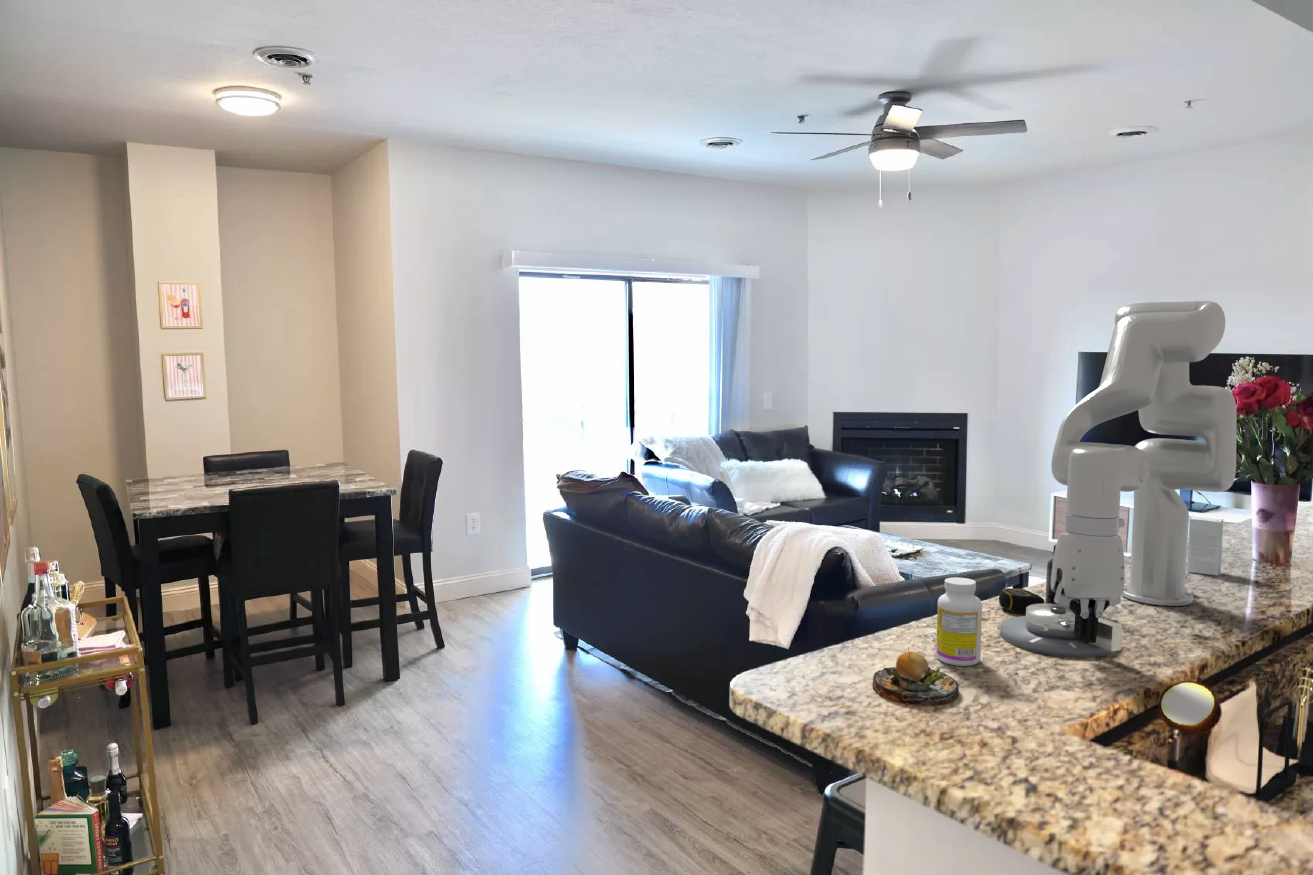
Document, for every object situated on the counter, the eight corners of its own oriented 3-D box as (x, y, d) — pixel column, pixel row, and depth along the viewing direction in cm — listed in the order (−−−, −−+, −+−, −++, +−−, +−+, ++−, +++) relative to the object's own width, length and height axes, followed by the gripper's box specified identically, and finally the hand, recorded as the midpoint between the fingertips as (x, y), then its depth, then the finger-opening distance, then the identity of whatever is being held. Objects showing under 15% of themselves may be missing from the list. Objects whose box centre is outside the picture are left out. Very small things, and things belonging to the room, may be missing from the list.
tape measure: (1045, 614, 167) (1046, 595, 167) (1013, 617, 165) (1014, 597, 165) (1022, 604, 174) (1023, 585, 173) (991, 607, 172) (991, 587, 172)
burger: (975, 697, 128) (977, 645, 127) (918, 714, 122) (919, 661, 121) (910, 671, 138) (912, 624, 137) (854, 686, 132) (855, 637, 131)
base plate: (1033, 617, 165) (1033, 609, 165) (1135, 641, 151) (1135, 633, 151) (979, 637, 153) (979, 628, 153) (1085, 665, 140) (1085, 656, 139)
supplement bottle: (948, 650, 147) (951, 573, 146) (987, 660, 142) (990, 580, 141) (928, 660, 142) (930, 580, 141) (967, 670, 137) (970, 588, 136)
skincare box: (1221, 572, 198) (1224, 519, 197) (1218, 576, 194) (1222, 521, 193) (1189, 568, 201) (1192, 515, 200) (1186, 572, 198) (1189, 518, 197)
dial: (1012, 623, 155) (1013, 600, 155) (1057, 617, 158) (1058, 595, 158) (1091, 655, 139) (1092, 629, 139) (1139, 647, 143) (1141, 622, 142)
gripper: (1119, 521, 146) (1113, 632, 147) (1034, 522, 143) (1028, 634, 145) (1151, 530, 138) (1144, 646, 140) (1061, 531, 136) (1055, 649, 138)
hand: (1085, 640), depth 142 cm, fingers closed
